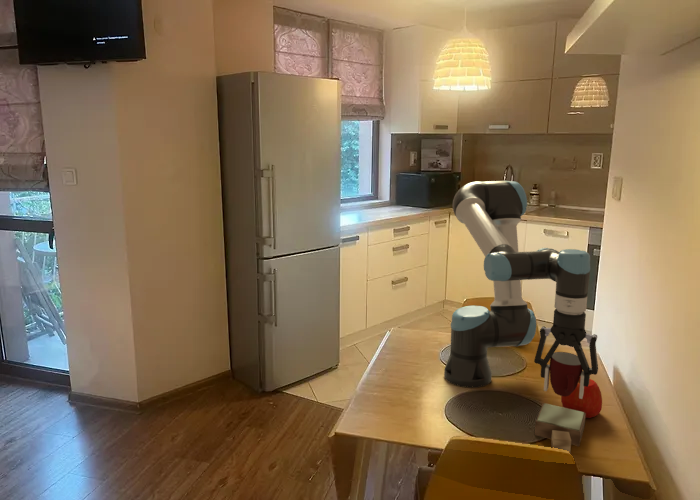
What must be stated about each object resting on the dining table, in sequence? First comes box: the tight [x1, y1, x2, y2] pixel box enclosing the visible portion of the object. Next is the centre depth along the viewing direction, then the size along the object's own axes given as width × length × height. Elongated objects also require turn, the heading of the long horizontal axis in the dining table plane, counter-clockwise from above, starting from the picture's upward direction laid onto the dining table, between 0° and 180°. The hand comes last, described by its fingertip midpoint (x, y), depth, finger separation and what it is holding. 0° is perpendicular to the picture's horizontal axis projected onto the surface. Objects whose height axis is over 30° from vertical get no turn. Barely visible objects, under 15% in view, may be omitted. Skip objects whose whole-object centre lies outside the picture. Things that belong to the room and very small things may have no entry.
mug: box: [549, 351, 583, 397], centre depth 139 cm, size 11×8×10 cm
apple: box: [560, 376, 603, 419], centre depth 151 cm, size 11×11×11 cm
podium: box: [534, 402, 586, 447], centre depth 142 cm, size 11×11×4 cm
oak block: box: [550, 430, 572, 453], centre depth 134 cm, size 4×4×4 cm
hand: (563, 392), depth 140 cm, fingers closed on mug, 8 cm apart
